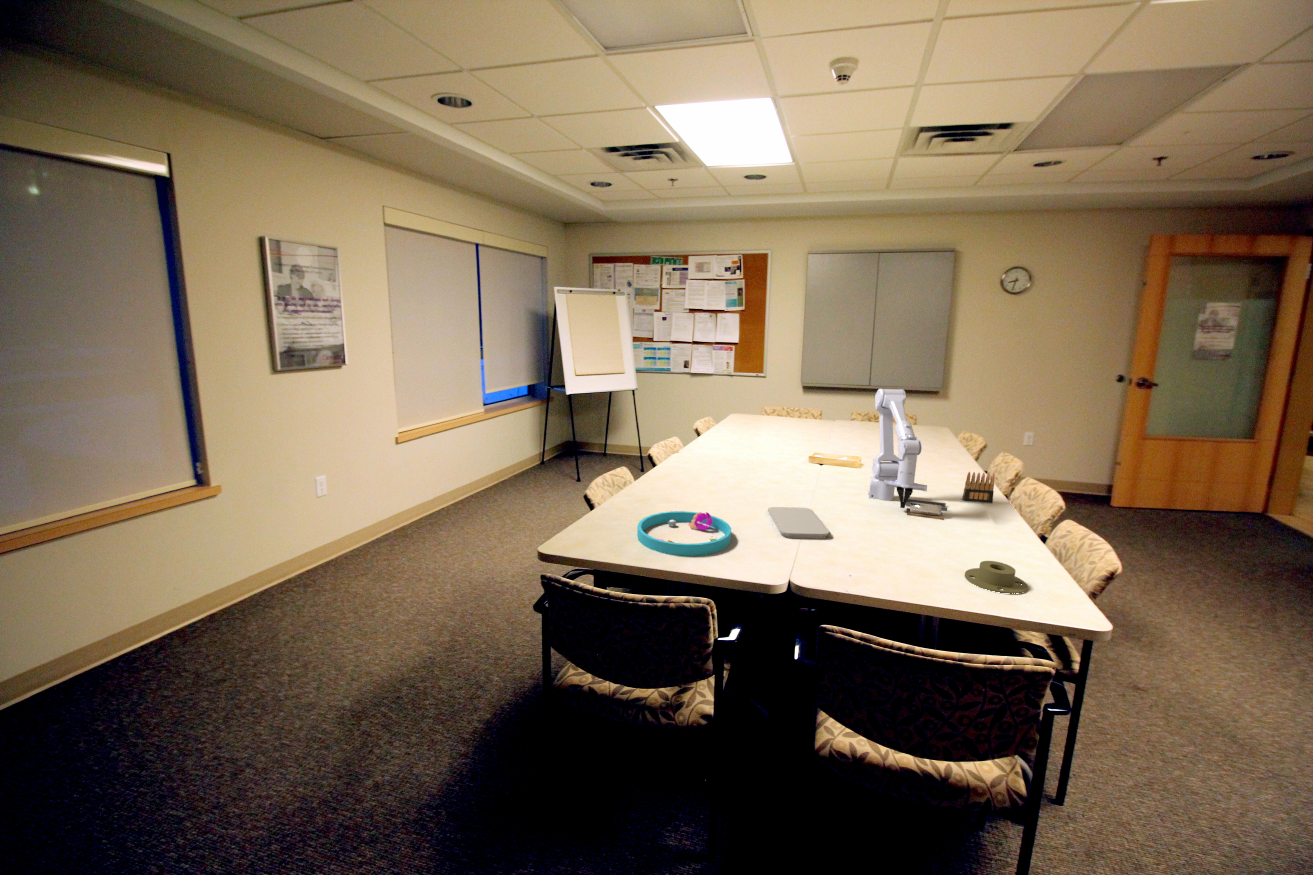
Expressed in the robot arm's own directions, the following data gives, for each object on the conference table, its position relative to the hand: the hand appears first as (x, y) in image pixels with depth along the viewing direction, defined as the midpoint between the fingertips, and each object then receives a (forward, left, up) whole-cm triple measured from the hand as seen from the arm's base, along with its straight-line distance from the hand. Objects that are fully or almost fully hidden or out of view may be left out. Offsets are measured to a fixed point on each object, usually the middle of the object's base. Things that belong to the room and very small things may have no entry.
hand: (902, 507), depth 211 cm
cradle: (+9, +11, -3) cm, 14 cm away
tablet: (-34, -28, -3) cm, 44 cm away
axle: (+8, 0, -2) cm, 8 cm away
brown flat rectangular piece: (+8, 0, -3) cm, 8 cm away
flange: (+23, -50, -3) cm, 55 cm away
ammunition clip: (+29, +30, -3) cm, 42 cm away
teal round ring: (-66, -55, -3) cm, 86 cm away
